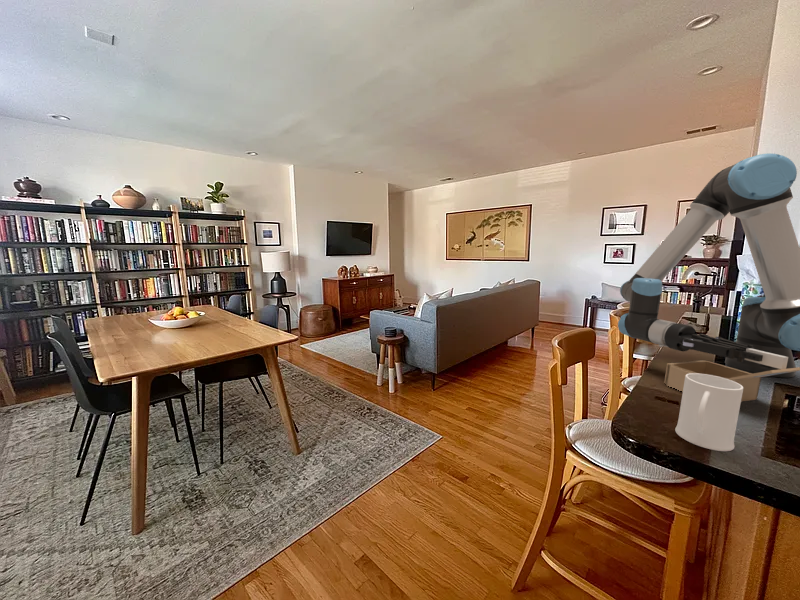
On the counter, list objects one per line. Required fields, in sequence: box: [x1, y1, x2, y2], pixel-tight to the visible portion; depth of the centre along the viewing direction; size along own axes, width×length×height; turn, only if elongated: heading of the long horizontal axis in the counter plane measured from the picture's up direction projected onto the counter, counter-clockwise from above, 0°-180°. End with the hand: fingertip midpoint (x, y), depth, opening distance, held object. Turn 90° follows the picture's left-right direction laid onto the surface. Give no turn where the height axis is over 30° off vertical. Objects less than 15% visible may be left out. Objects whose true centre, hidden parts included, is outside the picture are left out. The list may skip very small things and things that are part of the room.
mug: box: [674, 373, 743, 452], centre depth 62 cm, size 12×8×12 cm
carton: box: [663, 359, 762, 402], centre depth 85 cm, size 15×13×6 cm
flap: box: [727, 366, 800, 380], centre depth 74 cm, size 13×1×10 cm
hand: (784, 363), depth 71 cm, fingers closed
